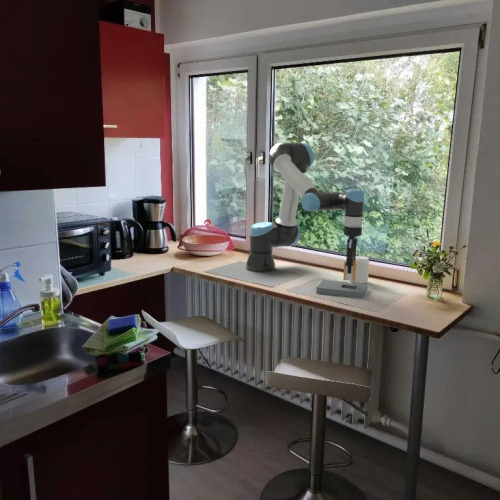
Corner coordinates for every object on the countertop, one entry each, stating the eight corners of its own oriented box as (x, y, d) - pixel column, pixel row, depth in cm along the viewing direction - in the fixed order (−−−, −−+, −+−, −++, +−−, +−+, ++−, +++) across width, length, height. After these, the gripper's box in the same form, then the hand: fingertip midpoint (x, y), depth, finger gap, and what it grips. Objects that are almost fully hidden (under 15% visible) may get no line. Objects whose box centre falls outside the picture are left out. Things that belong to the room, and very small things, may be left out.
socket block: (316, 292, 217) (316, 287, 217) (322, 284, 230) (322, 279, 229) (362, 298, 211) (363, 292, 210) (366, 289, 224) (367, 284, 223)
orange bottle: (343, 280, 217) (344, 257, 215) (344, 277, 221) (346, 255, 219) (354, 281, 215) (356, 258, 213) (356, 279, 219) (357, 256, 217)
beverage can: (355, 284, 231) (356, 259, 229) (347, 280, 239) (348, 255, 237) (370, 284, 234) (372, 259, 231) (362, 279, 241) (364, 255, 239)
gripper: (359, 229, 204) (355, 284, 209) (364, 224, 220) (360, 275, 225) (341, 228, 207) (337, 282, 211) (347, 222, 222) (344, 273, 227)
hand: (349, 278), depth 218 cm, fingers closed on orange bottle, 4 cm apart
